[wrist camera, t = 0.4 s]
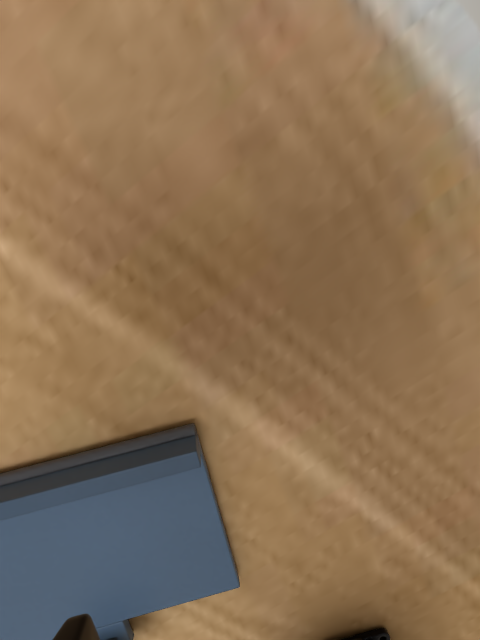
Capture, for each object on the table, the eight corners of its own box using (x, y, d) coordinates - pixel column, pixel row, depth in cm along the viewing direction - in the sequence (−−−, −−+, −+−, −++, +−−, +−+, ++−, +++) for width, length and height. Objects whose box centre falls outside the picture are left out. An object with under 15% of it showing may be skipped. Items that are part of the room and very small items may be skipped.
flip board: (246, 603, 28) (257, 673, 24) (-21, 679, 27) (-56, 766, 23) (193, 420, 23) (195, 468, 19) (-127, 503, 22) (-194, 572, 18)
